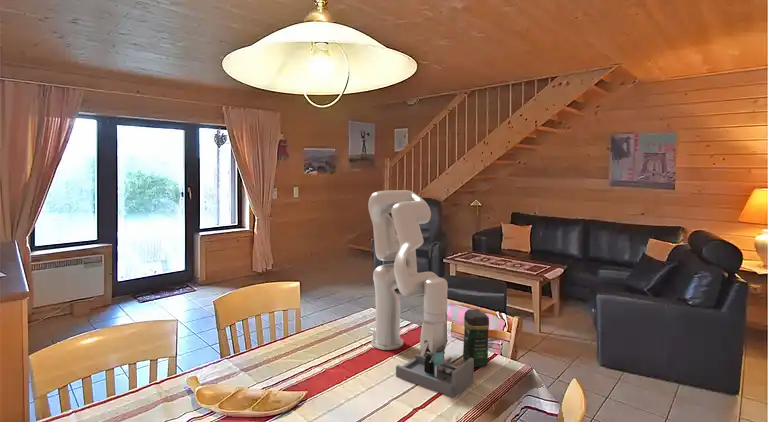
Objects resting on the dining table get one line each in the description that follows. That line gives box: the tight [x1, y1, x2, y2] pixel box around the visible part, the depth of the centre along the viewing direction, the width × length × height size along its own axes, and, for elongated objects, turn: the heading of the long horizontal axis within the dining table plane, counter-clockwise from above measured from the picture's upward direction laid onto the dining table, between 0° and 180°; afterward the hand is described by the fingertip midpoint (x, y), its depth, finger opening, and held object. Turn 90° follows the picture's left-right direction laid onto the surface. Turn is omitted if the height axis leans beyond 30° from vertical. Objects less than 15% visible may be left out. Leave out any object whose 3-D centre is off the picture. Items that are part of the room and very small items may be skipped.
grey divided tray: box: [395, 353, 475, 399], centre depth 144 cm, size 22×12×8 cm, turn 53°
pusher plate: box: [434, 355, 454, 380], centre depth 141 cm, size 4×9×6 cm, turn 143°
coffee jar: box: [462, 308, 490, 368], centre depth 156 cm, size 10×8×19 cm
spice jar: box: [426, 345, 445, 377], centre depth 144 cm, size 6×6×10 cm
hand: (434, 368), depth 144 cm, fingers closed on spice jar, 5 cm apart
